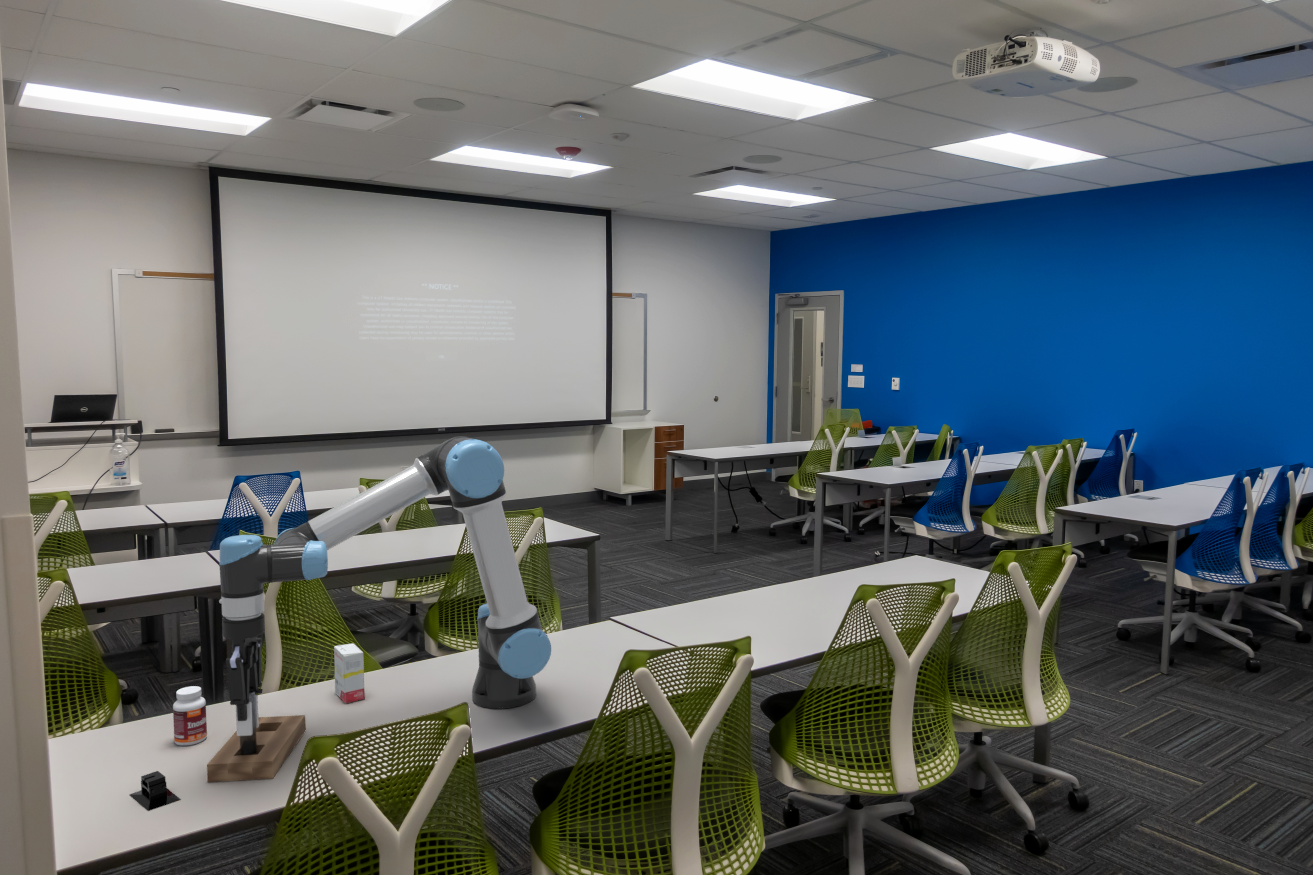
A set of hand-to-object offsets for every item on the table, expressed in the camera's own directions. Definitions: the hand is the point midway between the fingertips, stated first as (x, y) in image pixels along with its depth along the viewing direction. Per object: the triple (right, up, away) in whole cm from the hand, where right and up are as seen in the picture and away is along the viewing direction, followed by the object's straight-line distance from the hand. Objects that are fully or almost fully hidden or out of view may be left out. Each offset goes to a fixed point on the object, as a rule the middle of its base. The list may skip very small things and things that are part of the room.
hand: (247, 730), depth 171 cm
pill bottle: (-18, -7, +13) cm, 24 cm away
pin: (0, -4, 0) cm, 4 cm away
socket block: (0, -7, +6) cm, 9 cm away
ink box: (+7, -4, +37) cm, 38 cm away
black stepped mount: (-12, -9, -11) cm, 19 cm away
